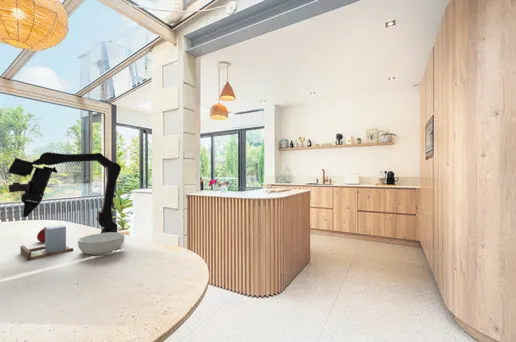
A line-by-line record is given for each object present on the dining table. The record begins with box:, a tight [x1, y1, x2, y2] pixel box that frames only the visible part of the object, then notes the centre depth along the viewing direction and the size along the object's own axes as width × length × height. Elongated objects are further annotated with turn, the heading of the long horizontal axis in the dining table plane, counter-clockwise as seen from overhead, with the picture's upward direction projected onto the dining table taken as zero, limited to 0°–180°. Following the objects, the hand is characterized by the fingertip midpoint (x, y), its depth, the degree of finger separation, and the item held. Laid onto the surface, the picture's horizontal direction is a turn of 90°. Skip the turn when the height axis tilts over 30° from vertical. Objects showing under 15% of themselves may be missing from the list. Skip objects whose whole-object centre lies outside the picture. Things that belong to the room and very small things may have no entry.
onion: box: [36, 226, 46, 243], centre depth 117 cm, size 6×6×8 cm
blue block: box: [44, 224, 67, 253], centre depth 105 cm, size 6×5×10 cm
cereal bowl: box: [77, 231, 125, 257], centre depth 105 cm, size 17×17×7 cm
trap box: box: [20, 244, 74, 261], centre depth 103 cm, size 14×13×4 cm
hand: (25, 215), depth 102 cm, fingers open, 9 cm apart
